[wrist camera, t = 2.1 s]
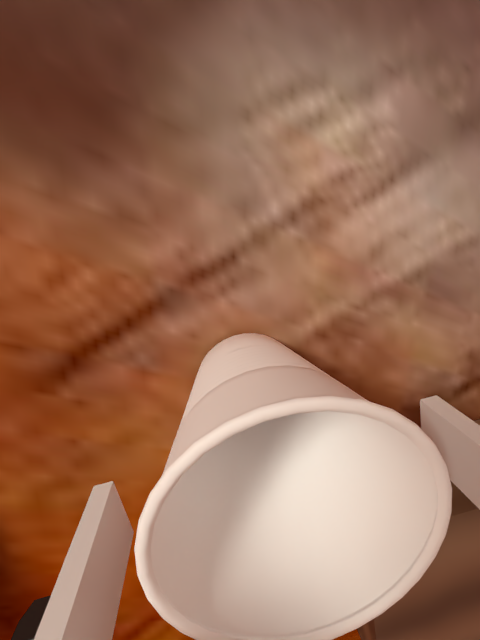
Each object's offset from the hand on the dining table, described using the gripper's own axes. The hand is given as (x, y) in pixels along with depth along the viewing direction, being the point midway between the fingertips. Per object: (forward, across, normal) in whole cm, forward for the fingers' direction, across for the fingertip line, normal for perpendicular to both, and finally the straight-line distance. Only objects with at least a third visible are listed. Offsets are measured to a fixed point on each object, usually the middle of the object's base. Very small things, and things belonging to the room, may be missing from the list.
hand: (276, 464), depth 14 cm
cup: (+7, 0, +1) cm, 7 cm away
